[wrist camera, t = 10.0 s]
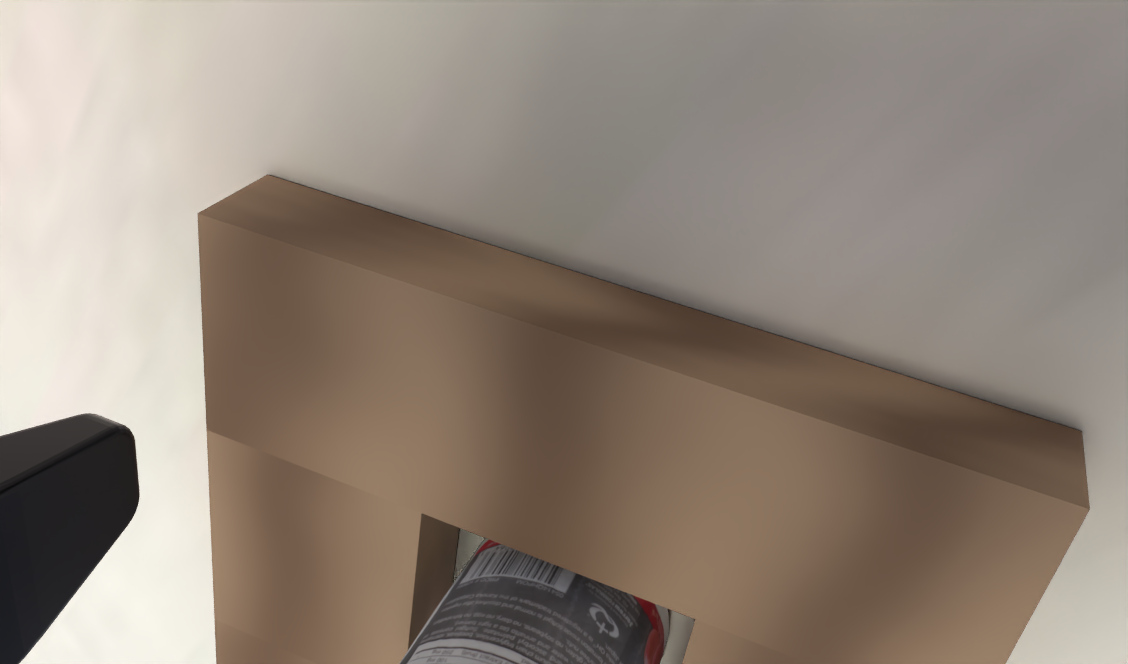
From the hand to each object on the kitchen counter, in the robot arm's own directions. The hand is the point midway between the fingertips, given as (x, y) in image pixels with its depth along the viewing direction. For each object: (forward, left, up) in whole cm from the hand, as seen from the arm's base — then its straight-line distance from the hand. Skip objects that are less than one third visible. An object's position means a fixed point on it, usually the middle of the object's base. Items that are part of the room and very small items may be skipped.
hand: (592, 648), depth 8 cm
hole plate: (+3, +13, -13) cm, 19 cm away
